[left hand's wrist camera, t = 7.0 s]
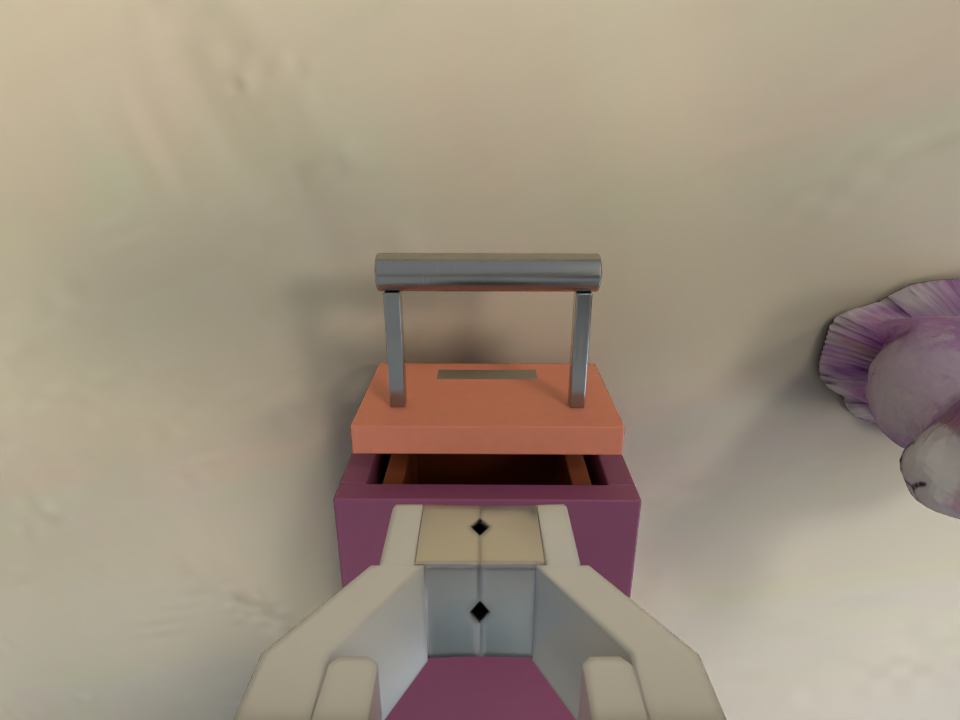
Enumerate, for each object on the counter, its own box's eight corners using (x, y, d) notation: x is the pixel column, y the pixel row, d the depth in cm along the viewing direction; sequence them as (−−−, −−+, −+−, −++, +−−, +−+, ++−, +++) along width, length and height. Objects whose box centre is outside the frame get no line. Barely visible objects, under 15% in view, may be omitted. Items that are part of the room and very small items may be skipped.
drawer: (370, 233, 25) (335, 264, 19) (605, 233, 25) (641, 264, 19) (399, 668, 34) (381, 780, 29) (571, 670, 34) (589, 782, 28)
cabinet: (373, 401, 29) (332, 498, 22) (600, 402, 29) (642, 500, 21) (394, 700, 37) (370, 854, 29) (575, 701, 37) (600, 856, 29)
